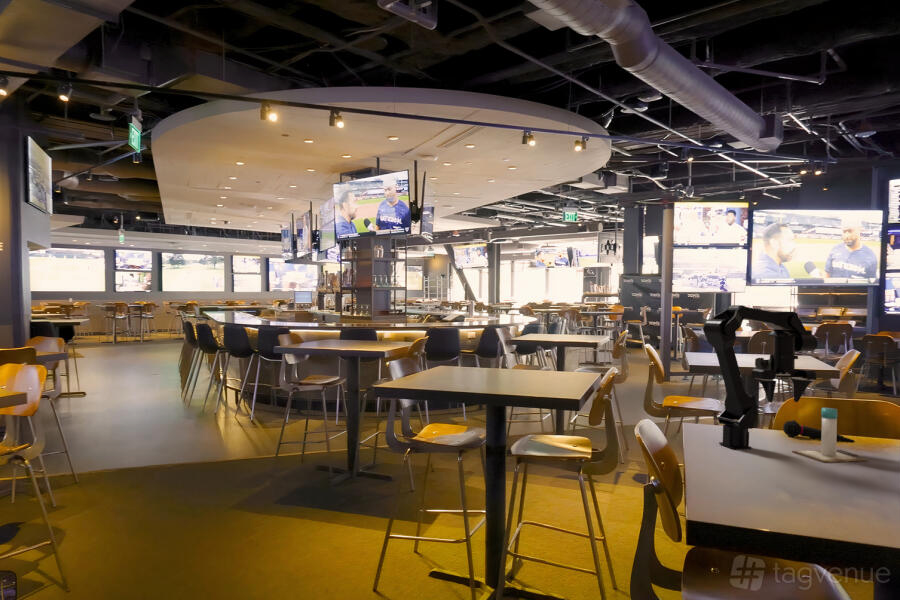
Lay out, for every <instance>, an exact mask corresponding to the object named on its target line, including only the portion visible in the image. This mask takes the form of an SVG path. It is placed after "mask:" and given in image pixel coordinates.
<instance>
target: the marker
mask: <svg viewBox="0 0 900 600" xmlns="http://www.w3.org/2000/svg"><path fill="white" fill-rule="evenodd" d="M820 415H821V416H820V417H821V428H820V430H821V439H820V441H821V443H820V450H821V454H823V455H827V456H836V450H837V441H836V439H837V434H838V433H837V431H838V429H837V428H838V427H837V425H838V409H837V408H834V407H821V414H820Z"/></svg>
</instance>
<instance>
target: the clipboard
mask: <svg viewBox="0 0 900 600" xmlns="http://www.w3.org/2000/svg"><path fill="white" fill-rule="evenodd" d="M791 452H792V453H794V454H797V455H799V456H802V457H806V458H809V459H811V460H814V461H817V462H821V463H824V464H825V463H826V462H829V463H850V462H849V461H862V462H867V461H868V460H867V459H866V458H863V457H862V458H861V457H859V454H856V453H853V452H849V451H847V450H843V449H836V456H827V455H823V454H821V449H820V450H819V449H814V450H791ZM826 464H827V463H826Z"/></svg>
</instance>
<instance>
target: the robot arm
mask: <svg viewBox="0 0 900 600" xmlns="http://www.w3.org/2000/svg"><path fill="white" fill-rule="evenodd" d="M743 321H751V322H755V323H761V324H765V325H766V326H767V327H770V328H772V329H773V330H772V331H771V332H769V333H768V335H767V336H768V337H770V338H771V337H772V338H773V353H770V355H769V358H768V359H764V357H757V358H755V360H754V366H755V368H753V369H752V370H751V377H750V378H752V379H753V378H754V379H755V381H757V382H759V384H761V386H762V388H763V390H764V393H765V396H766V398H767V401H768V403H773V400H774V398H775V397H774V396H775V392H776V391H775V390H776V385H777V380H775V379H776V378H790V380H791V382H792V384H793V402H794V403H798V402H799V401H800V399H801V398H802V396H803V394H804V393H805V391H806V389H807V388H808V387H809V385H810V384H812V383H814V380H817V373H816V371H815V370H813V369H807V368H796V367H795V364H796V363H795V361H796V360H799V356H798V355H796V352H798V353H799V352H800V353H802V352H803V353H805V352H808V353H809V352H814V351H815V350H816V349H817V348H818V343H819V341H818V340H817V338H816V336H815V335H814V334H813V333H812V332H813V331H812V330H809V329H806V327H805V326H804V324H803V322H802V320H801V319H800V317H799V315H798V312H796V311H787V310H786V311H783V310H781V311H779V310H777V311H775V310H774V311H773V310H772V311H770V310H764V309H759V308H755V307H750V306H749V307H748V306H745V305H743V304H742V305H740V304H736V305H735V304H734V305H729V306H728V307H727V308H725V310H723V311H720V312H719V313H718V314H716V315H713V317H711V318H710V319H707V320H706V321H705V323H704V325H703V326H702V328H703V330H702V331H703V334H704V336H705V338H706V340H707V342H708V343H709V344H710V346H712V347H713V349H714V351H715V353H716V357H717V361H718V365H719V368H720V372H721V376H722V379H723V383H724V387H725V390H726V397H725V398H724V408H723V410H722V411H721V413H719V414H718V416H717V421H718V424H721V425H722V441H719V442H718V443H719V445H721V446H724V447H726V448H729V449H732V450H745V449H746V450H748V449H752V446H750V432H749V431H750V430H752V429H753V428H754V425H755V423H756V419H757V417H758V409H759V406H758V405H757V401H756V400H757V399H756V396H755V395H753V394H748V393H747V391H746V389H745V386H744V382H743V378H742V374H741V371H740V368H739V364H738V360H737V356H736V352H735V349H734V346H735V342H736V339H737V332H736V331H738V330H739V329H740V328H741V326H742V324H743Z"/></svg>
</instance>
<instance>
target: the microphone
mask: <svg viewBox="0 0 900 600" xmlns="http://www.w3.org/2000/svg"><path fill="white" fill-rule="evenodd" d="M782 430H783V432H784V434H785V435H787V436H789V437H790V438H796V437H798V436H800V437H804V438H808V439H811V438H812V439H813V440H815V439H819V440H821V429H819V428H814V427H810V426H805V425H801V424H800V423H798V422H797V421H796V420H793V419H792V420H788V421H786V422H784V424H783V428H782ZM855 441H856V440H854V439H852V438H849V437H845V436H844V435H841V434H838V433H837V439H836V442H844V443H845V442H846V443H855Z"/></svg>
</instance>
